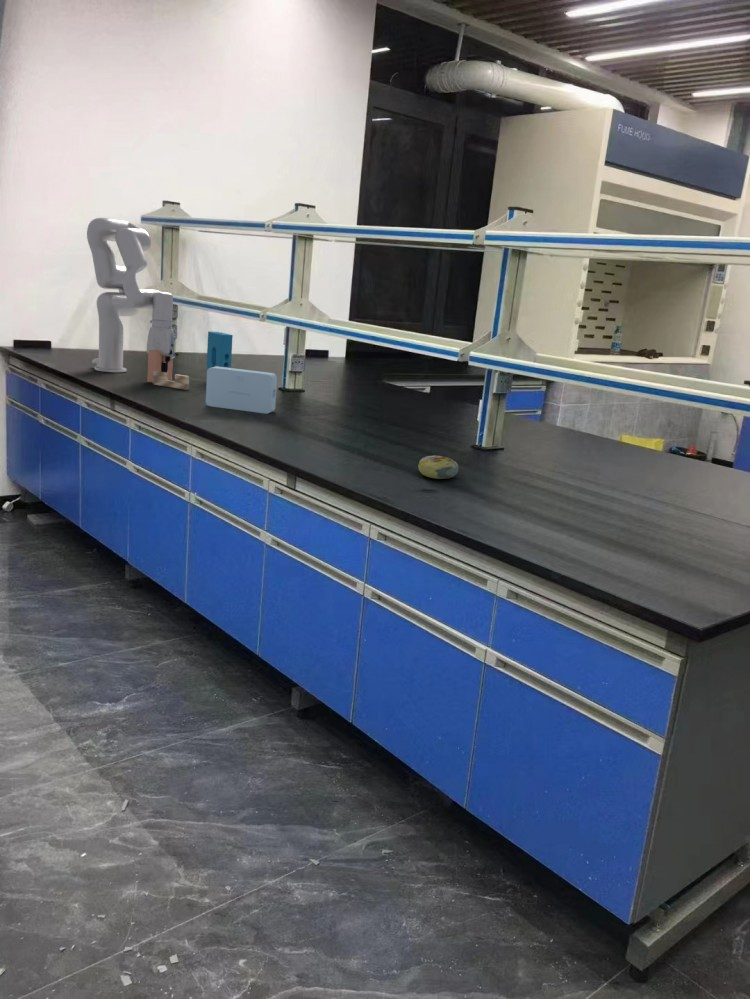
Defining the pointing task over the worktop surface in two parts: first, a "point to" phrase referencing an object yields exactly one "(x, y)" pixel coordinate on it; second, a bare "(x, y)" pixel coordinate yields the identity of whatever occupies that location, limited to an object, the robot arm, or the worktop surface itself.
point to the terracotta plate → (157, 364)
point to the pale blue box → (241, 389)
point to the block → (219, 350)
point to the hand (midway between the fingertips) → (160, 371)
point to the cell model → (438, 467)
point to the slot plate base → (162, 380)
